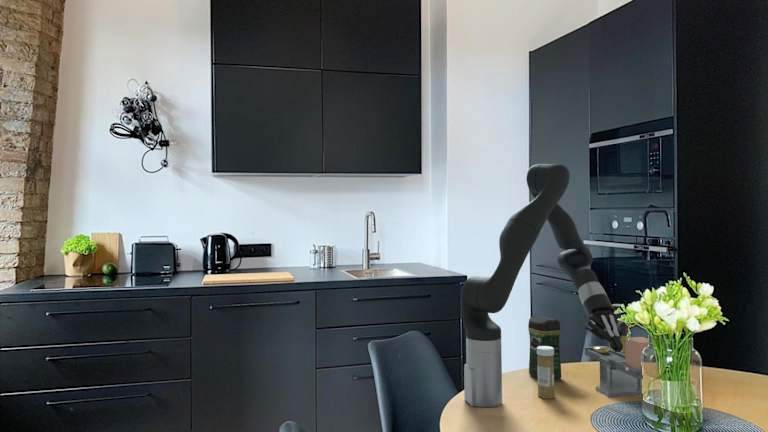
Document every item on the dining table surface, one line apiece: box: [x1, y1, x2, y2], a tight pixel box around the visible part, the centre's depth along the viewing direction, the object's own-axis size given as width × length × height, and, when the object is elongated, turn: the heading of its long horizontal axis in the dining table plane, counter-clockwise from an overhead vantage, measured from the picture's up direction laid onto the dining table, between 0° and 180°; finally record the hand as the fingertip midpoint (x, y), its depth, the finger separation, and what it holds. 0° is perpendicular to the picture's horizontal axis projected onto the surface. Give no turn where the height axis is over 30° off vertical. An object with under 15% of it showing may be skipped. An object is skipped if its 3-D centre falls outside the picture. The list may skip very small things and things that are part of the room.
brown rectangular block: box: [625, 336, 650, 370], centre depth 148 cm, size 5×6×8 cm
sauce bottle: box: [608, 303, 629, 355], centre depth 185 cm, size 6×6×20 cm
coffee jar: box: [527, 315, 562, 382], centre depth 172 cm, size 10×8×19 cm
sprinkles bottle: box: [537, 346, 556, 400], centre depth 154 cm, size 5×5×14 cm
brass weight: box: [592, 345, 609, 355], centre depth 166 cm, size 4×4×2 cm
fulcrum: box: [595, 357, 643, 398], centre depth 156 cm, size 12×6×10 cm, turn 100°
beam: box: [584, 345, 644, 380], centre depth 156 cm, size 8×26×2 cm, turn 10°
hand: (619, 350), depth 157 cm, fingers closed
